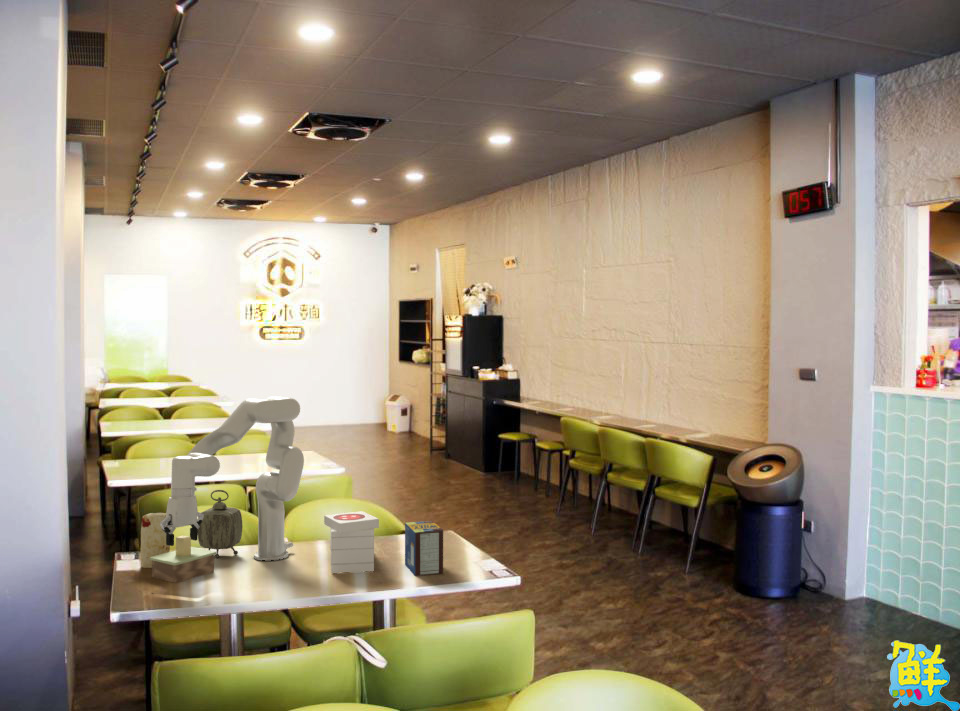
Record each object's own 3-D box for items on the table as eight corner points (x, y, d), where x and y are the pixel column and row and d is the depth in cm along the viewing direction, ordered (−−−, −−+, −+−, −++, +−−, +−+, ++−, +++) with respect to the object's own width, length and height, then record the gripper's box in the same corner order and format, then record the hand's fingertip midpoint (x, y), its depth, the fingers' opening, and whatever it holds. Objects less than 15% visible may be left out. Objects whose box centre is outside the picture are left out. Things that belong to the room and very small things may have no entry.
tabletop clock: (242, 554, 312) (242, 488, 312) (232, 560, 303) (232, 493, 303) (205, 552, 314) (205, 487, 313) (195, 559, 305) (195, 491, 304)
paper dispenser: (374, 551, 318) (374, 504, 318) (379, 573, 289) (379, 522, 288) (323, 553, 315) (324, 506, 314) (324, 575, 285) (324, 523, 285)
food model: (139, 572, 288) (139, 515, 287) (141, 566, 294) (141, 511, 293) (169, 570, 290) (169, 513, 290) (171, 565, 297) (171, 509, 296)
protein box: (432, 562, 303) (432, 520, 303) (443, 573, 289) (443, 529, 288) (404, 564, 300) (404, 522, 300) (414, 576, 286) (414, 531, 285)
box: (190, 568, 292) (190, 549, 292) (213, 574, 286) (213, 554, 286) (151, 580, 278) (151, 559, 278) (175, 586, 272) (175, 564, 272)
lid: (190, 551, 292) (190, 529, 292) (216, 556, 286) (216, 534, 286) (149, 562, 278) (149, 539, 278) (175, 568, 271) (175, 545, 271)
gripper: (196, 488, 291) (195, 536, 291) (154, 494, 276) (153, 545, 276) (210, 490, 287) (209, 539, 287) (168, 497, 272) (167, 549, 272)
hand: (182, 542), depth 281 cm, fingers open, 9 cm apart
